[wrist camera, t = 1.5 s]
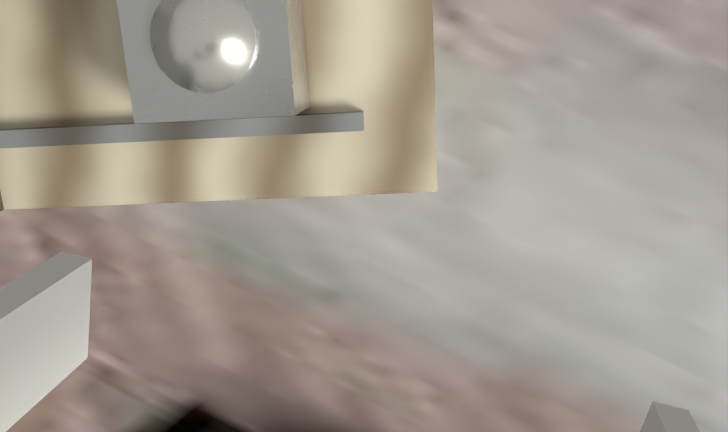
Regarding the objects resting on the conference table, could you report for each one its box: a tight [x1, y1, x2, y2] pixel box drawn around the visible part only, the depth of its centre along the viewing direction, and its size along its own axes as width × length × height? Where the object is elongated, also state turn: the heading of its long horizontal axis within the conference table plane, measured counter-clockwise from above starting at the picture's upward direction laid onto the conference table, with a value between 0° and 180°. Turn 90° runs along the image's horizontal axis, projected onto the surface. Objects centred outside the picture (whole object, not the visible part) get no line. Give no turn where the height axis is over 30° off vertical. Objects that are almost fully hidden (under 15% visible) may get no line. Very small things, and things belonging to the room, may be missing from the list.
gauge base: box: [0, 0, 437, 211], centre depth 33 cm, size 30×18×9 cm, turn 93°
